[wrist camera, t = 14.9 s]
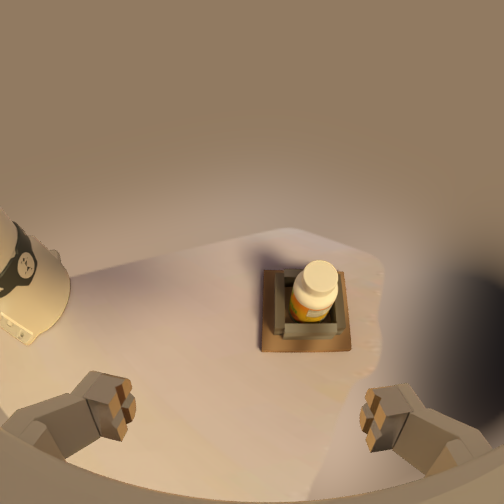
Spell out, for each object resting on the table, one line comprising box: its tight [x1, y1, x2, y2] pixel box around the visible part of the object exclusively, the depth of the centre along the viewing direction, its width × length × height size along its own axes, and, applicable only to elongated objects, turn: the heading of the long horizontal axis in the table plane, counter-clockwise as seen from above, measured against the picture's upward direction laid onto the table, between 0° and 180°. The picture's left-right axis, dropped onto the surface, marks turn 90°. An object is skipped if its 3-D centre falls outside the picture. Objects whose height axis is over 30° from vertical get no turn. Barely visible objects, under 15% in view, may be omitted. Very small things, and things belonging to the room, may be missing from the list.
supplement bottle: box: [288, 260, 338, 324], centre depth 35 cm, size 5×5×10 cm
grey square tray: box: [262, 269, 351, 352], centre depth 39 cm, size 12×12×4 cm
